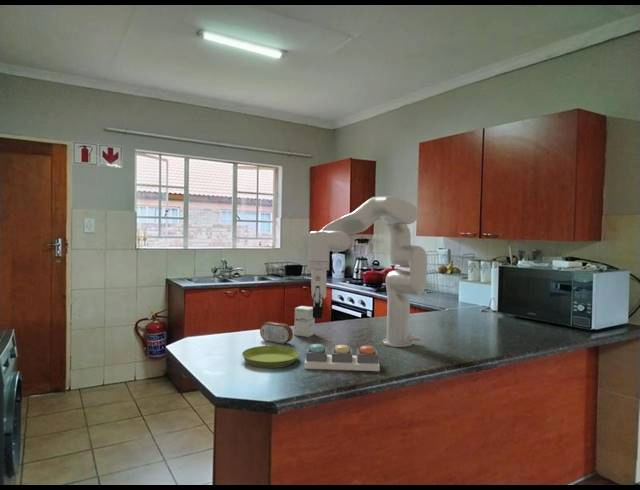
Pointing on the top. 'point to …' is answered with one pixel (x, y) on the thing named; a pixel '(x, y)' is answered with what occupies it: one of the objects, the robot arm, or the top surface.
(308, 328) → the supplement box
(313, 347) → the teal button
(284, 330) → the tin
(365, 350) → the brick button
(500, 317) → the top surface
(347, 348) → the ochre button
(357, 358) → the button panel
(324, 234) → the robot arm
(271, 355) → the saucer
